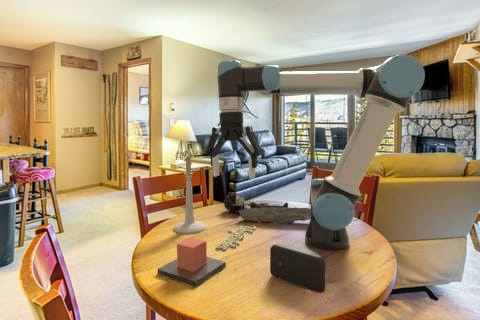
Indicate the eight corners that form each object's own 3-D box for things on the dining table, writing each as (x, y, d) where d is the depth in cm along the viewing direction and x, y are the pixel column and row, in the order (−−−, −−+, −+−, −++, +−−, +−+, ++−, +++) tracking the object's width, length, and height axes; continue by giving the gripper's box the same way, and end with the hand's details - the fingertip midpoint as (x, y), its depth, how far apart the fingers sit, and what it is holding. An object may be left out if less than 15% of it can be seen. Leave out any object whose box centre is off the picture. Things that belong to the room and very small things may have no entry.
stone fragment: (236, 214, 134) (238, 204, 138) (238, 225, 141) (239, 216, 144) (313, 217, 130) (312, 207, 133) (311, 228, 136) (311, 218, 140)
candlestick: (176, 235, 123) (173, 157, 119) (172, 225, 135) (169, 154, 131) (208, 231, 127) (207, 156, 123) (202, 222, 139) (200, 153, 135)
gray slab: (225, 266, 96) (225, 245, 95) (195, 286, 84) (195, 263, 84) (189, 256, 103) (189, 237, 103) (157, 273, 92) (156, 252, 91)
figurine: (282, 207, 136) (217, 195, 145) (279, 228, 138) (215, 215, 147) (289, 197, 155) (231, 187, 164) (287, 215, 156) (230, 204, 165)
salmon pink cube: (206, 263, 95) (206, 241, 94) (193, 271, 89) (192, 247, 89) (191, 259, 98) (190, 237, 97) (177, 266, 93) (176, 243, 92)
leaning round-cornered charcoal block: (330, 288, 83) (331, 254, 82) (323, 296, 80) (324, 260, 78) (277, 270, 93) (277, 239, 92) (268, 276, 90) (268, 244, 89)
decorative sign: (235, 223, 134) (258, 226, 131) (235, 225, 134) (258, 228, 131) (206, 246, 110) (233, 250, 106) (206, 249, 110) (233, 253, 106)
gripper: (192, 113, 105) (196, 177, 107) (261, 109, 93) (263, 181, 95) (205, 113, 112) (208, 173, 114) (271, 109, 99) (273, 176, 102)
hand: (233, 177), depth 105 cm, fingers open, 13 cm apart
